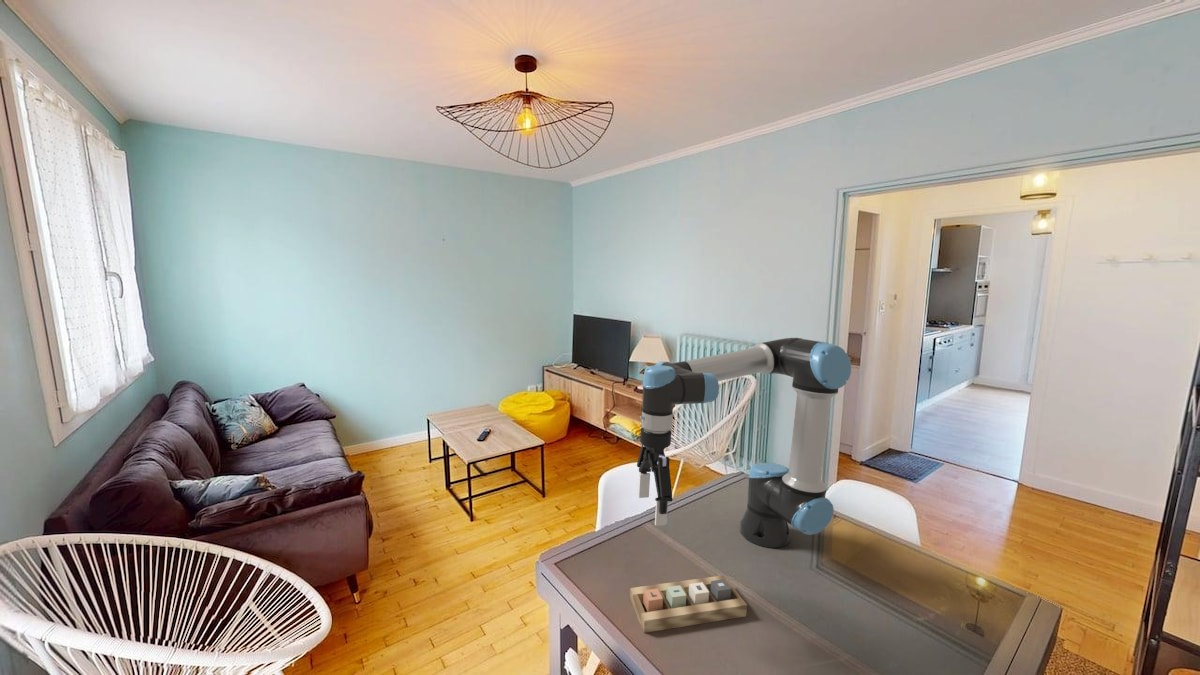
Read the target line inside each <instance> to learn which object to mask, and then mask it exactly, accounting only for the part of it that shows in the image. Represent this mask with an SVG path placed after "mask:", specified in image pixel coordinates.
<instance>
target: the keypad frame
mask: <svg viewBox="0 0 1200 675" xmlns="http://www.w3.org/2000/svg"><path fill="white" fill-rule="evenodd" d="M722 579H724V580H725V581H726V582H727V584H728V585H729V586H730V588H731V600H724V601H718V602H717V601H716V600H715V598H714V597H713V595H712V594H711V592H710V590H711V581H715V580H722ZM700 582H703V584H704V585H705V587H706V588H707V590H708V591H709V601H708V603H705V604H698V605H694V604H693V602H692V601H691V599H690V597H689V584H693V583H700ZM679 585H680V586H681V587H682V589H683V591H684V592H685V594H686V606H685V607H678V608H672V609H671V607H670V605H669V604H668V602H667V600H666V592H667V587H672V586H679ZM657 588H658V590H659V592H660V594H661V596H662V598H663V608H662V610H659V611H652V612H647V611H645V608H644V607H643V605H644V603H643V595H644V590H650V589H657ZM629 589H630V590H629V601H630V603H631V606H632V607H633V609H634V612H635V615H636V616H637V619H638V622H639V624H640V626H641V630H642V631H643V633H644V634H645V633H651V632H657V631H663V630H668V629H675V628H682V627H688V626H694V625H699V624H707V623H712V622H721V621H724V620H731V619H735V618H736V619H737V618H743V617H747V608H748V604H747V603H746V602H745V600H744V599H743V598H742V596H741V595H740V594H739V592H738V591H737V590H736V589H735V588H734V586H733V585H732V584H731V582H730V580H728V578H727V577H726V576H725V575H724V574H723V575H722V574H721V575H716V576H715V575H714V576H709V577H703V578H702V577H701V578H694V579H687V580H680V581H678V580H677V581H674V582H673V581H672V582H664V583H658V584H657V583H655V584H651V585H643V586H642V585H641V586H637V587H630V588H629Z"/></svg>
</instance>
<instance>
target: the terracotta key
mask: <svg viewBox="0 0 1200 675" xmlns="http://www.w3.org/2000/svg"><path fill="white" fill-rule="evenodd" d="M643 603H644V604H643V605H644V607H645V608H644V609H645V610H646V612H652V611H659V610H662V608H663V598H662V596H661V594H660V592H659V590H658V588H657V589H650V590H644V595H643Z"/></svg>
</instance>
